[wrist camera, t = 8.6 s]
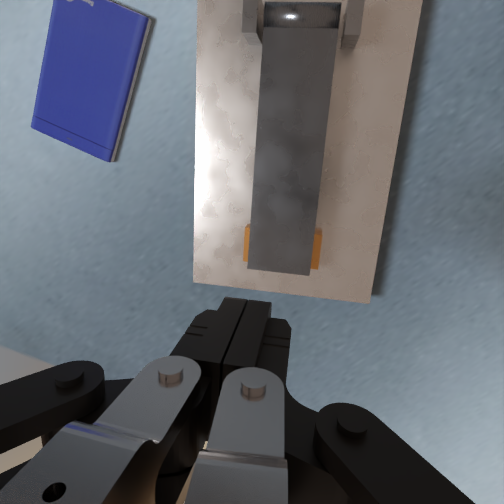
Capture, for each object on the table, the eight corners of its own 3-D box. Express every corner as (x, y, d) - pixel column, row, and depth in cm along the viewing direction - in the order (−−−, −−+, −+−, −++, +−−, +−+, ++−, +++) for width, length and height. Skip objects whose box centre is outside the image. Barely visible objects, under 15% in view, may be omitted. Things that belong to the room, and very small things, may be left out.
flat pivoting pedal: (267, 8, 25) (264, -4, 23) (340, 8, 24) (342, -3, 22) (249, 263, 30) (246, 270, 28) (309, 270, 29) (309, 277, 27)
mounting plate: (205, -9, 28) (183, -42, 23) (417, -8, 26) (442, -44, 21) (199, 274, 35) (181, 294, 30) (366, 294, 32) (375, 319, 28)
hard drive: (55, -24, 28) (28, 126, 32) (146, 15, 28) (107, 162, 32) (68, -16, 30) (40, 127, 34) (154, 22, 29) (116, 162, 33)
